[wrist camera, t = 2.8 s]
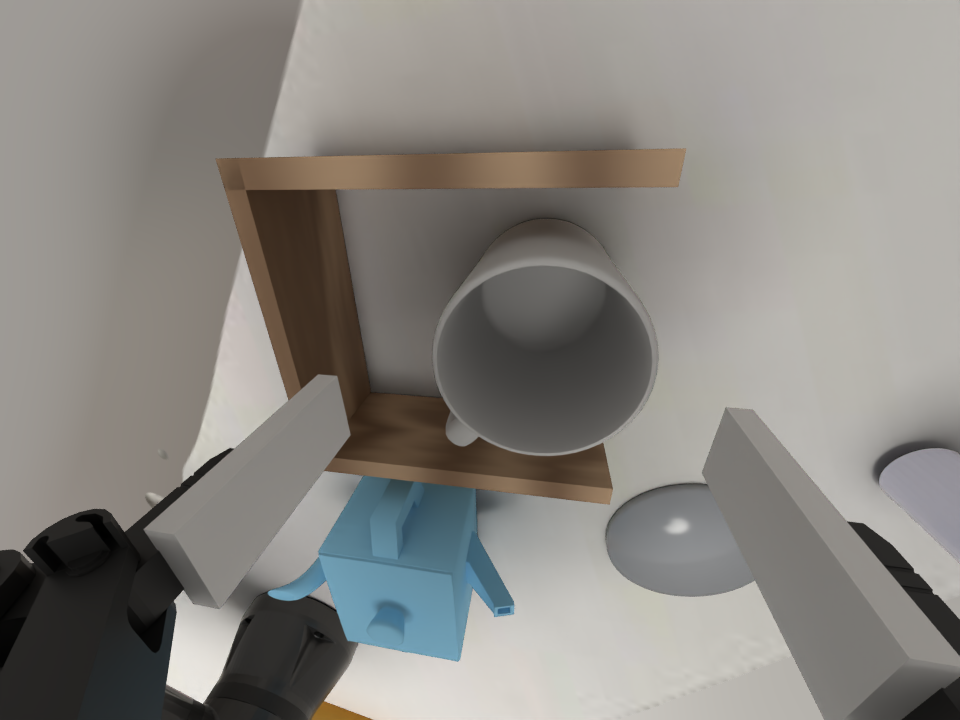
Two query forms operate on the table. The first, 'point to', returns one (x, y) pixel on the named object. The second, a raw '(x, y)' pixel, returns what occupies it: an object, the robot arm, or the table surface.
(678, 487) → the grey saucer
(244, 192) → the three-sided wooden frame
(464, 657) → the table surface
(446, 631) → the teapot
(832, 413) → the table surface
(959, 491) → the perfume bottle
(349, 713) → the bread
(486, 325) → the mug
